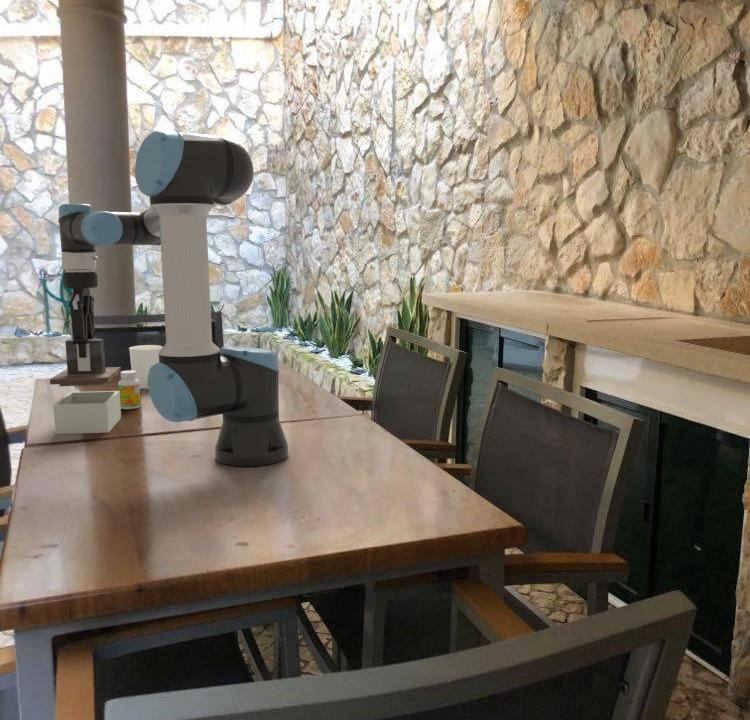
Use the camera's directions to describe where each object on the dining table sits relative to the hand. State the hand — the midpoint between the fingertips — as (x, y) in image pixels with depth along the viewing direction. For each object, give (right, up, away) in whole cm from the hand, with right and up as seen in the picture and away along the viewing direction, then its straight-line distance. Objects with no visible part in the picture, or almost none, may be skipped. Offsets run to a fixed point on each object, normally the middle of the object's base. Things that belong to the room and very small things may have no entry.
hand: (86, 369), depth 179 cm
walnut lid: (0, -2, 0) cm, 2 cm away
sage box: (0, -14, +3) cm, 14 cm away
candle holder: (0, -6, +49) cm, 50 cm away
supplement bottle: (+3, -11, +22) cm, 25 cm away
